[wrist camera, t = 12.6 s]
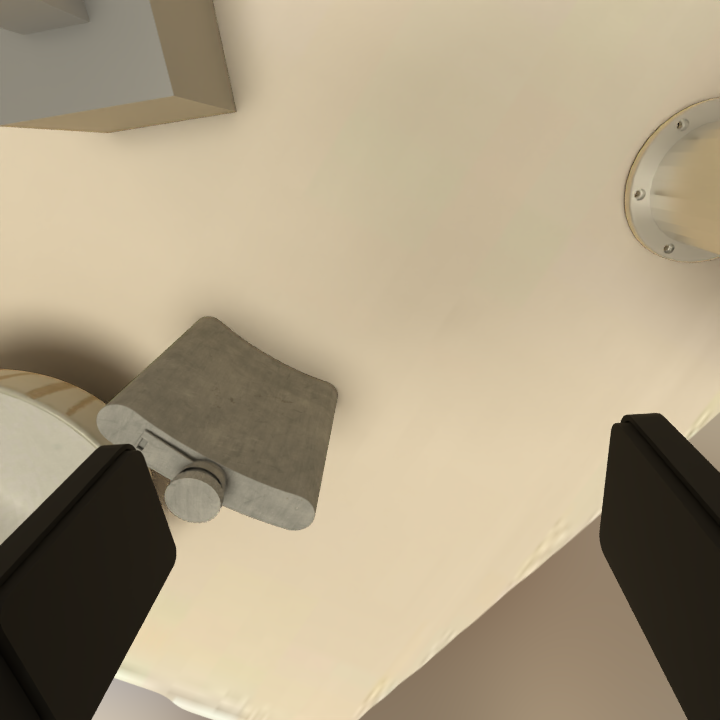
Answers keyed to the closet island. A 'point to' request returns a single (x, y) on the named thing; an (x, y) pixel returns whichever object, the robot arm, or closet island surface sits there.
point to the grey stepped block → (110, 64)
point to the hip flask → (227, 428)
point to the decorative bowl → (41, 440)
